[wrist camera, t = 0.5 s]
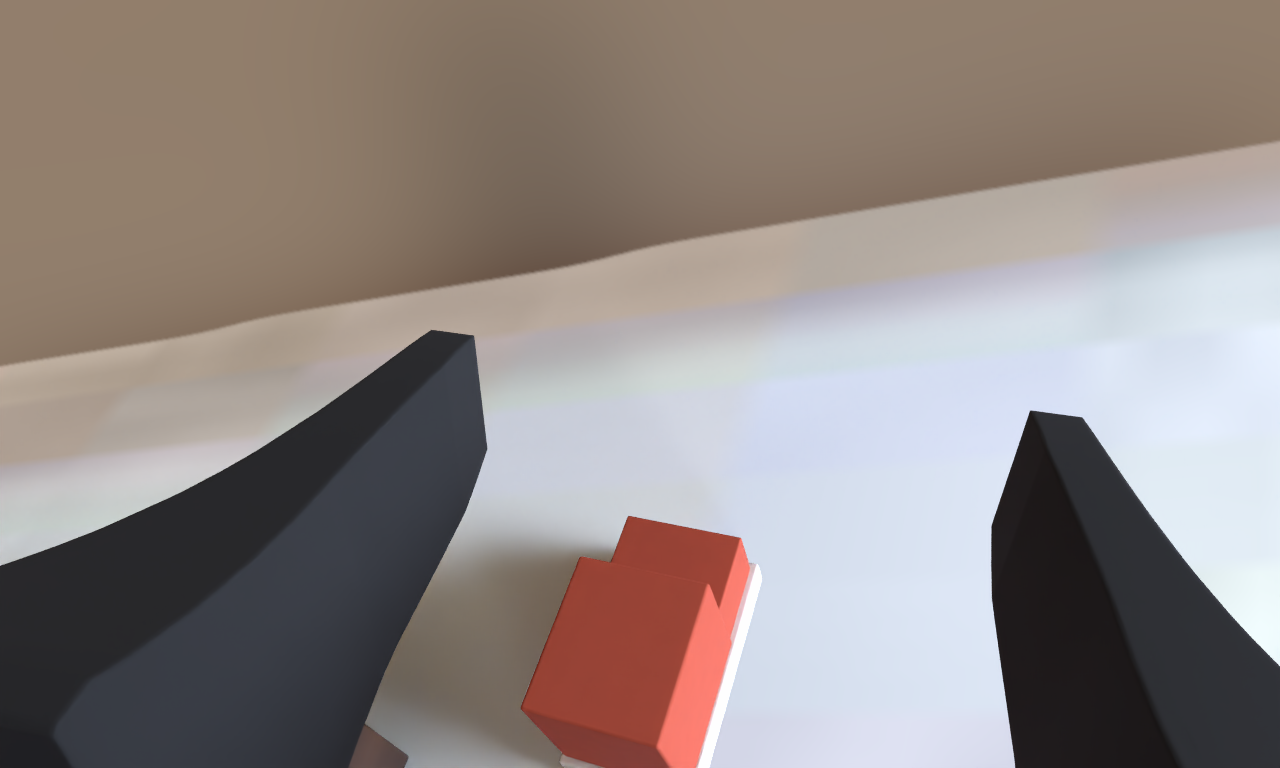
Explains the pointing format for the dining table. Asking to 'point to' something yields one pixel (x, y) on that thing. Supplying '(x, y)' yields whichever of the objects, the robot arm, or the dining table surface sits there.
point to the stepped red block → (645, 650)
